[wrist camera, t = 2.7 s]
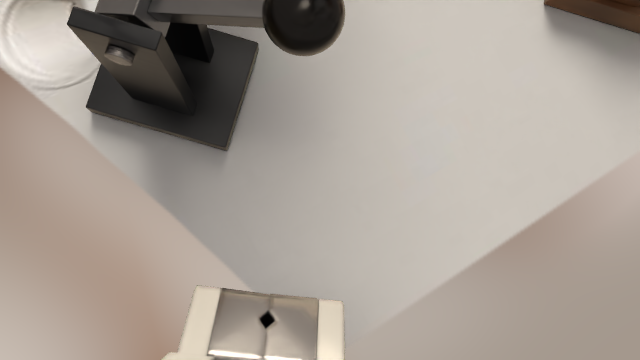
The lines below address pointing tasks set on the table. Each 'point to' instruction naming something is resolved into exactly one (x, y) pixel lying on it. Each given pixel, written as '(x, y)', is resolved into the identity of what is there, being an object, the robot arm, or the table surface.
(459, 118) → the table surface
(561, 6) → the button block
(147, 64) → the bracket
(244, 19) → the lever
